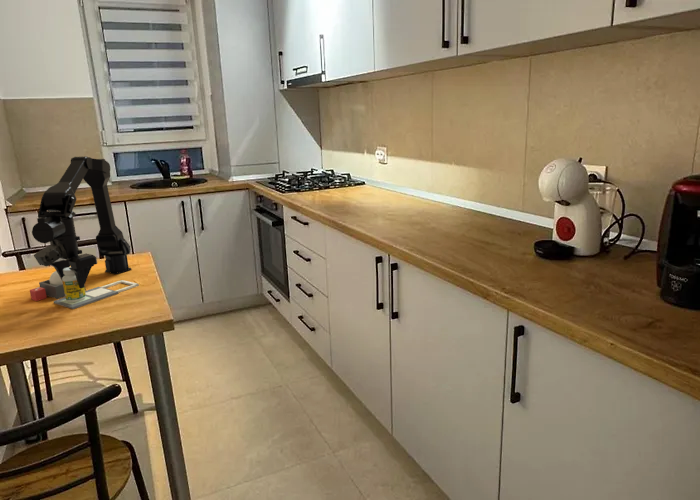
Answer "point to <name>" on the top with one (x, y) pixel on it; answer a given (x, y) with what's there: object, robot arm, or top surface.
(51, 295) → the dome housing
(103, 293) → the game board
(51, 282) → the dome
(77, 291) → the supplement bottle
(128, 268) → the robot arm
